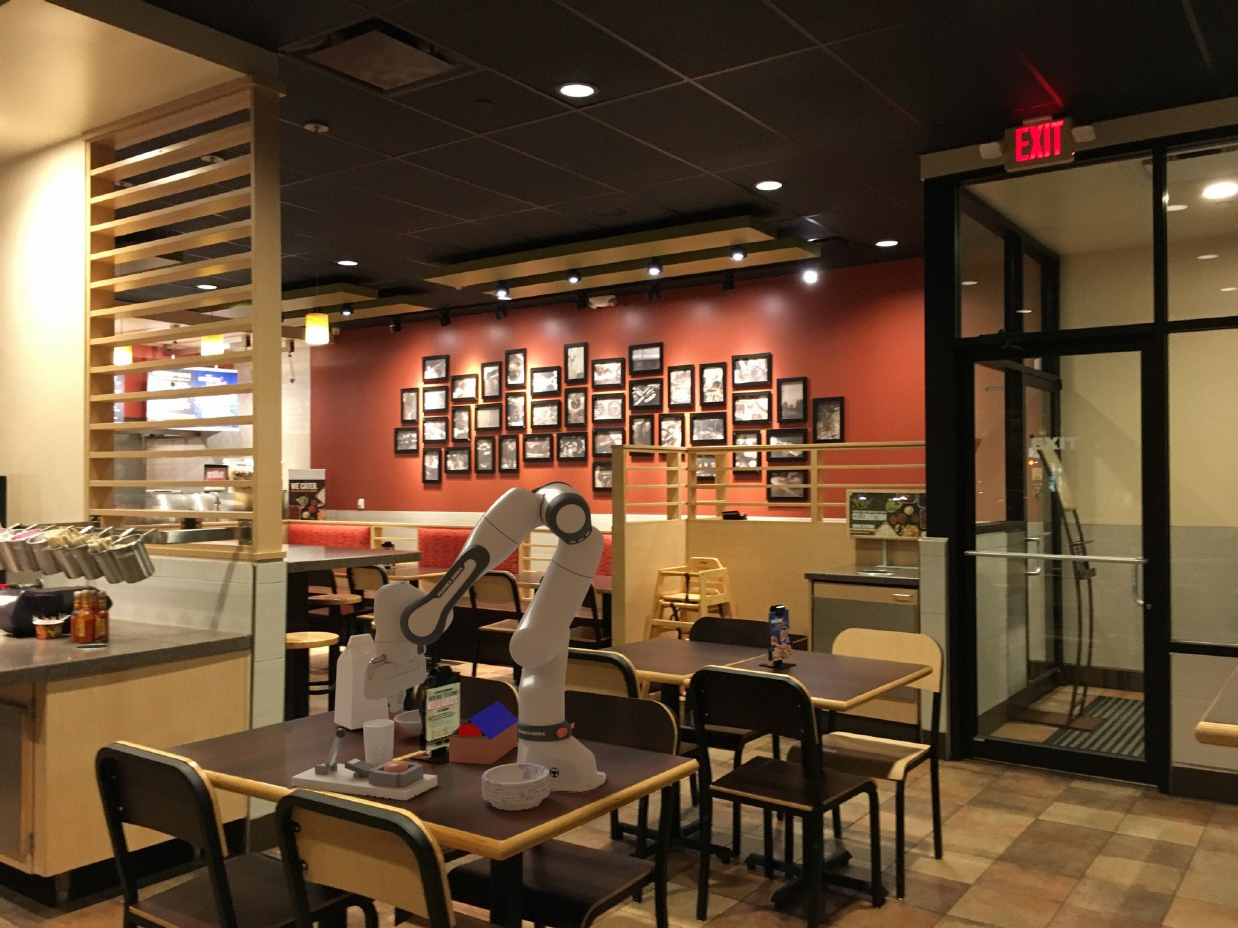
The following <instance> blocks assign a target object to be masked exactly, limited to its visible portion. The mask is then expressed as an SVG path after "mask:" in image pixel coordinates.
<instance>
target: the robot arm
mask: <svg viewBox="0 0 1238 928" xmlns="http://www.w3.org/2000/svg"><path fill="white" fill-rule="evenodd" d="M543 526H545V527H546V528H548V529H549V530H550V532H551V533H552V534H553V535H555V537H558V542H557V547H556V549H555V551H554V552H553V555H552V557H551V560H550V562H549V565H548V566H547V569H546V571H545V573H544V576H543V577H542V580H541V582H540V585H539V587H538V589H537V590H536V592H535V594H534V595H533V597H532V598H531V601H530V603H529V604H528V606H527V608H526V610H525V611H524V613H523V615H522V618H521V619H520V620H519V623H518V625H517V627H516V629H515V630H514V632H513V634H512V636H511V639H510V641H509V646H508V647H509V648H508V649H509V653H510V657H511V658H512V659H513V661H514V662H515V663H516V664H517V665H519V666H520V667H522V671H521V677H520V682H519V686H518V721H517V744H518V745H517V755H516V756H517V757H516V762H515V763H530V764H537V765H541V766H544V767H546V768H547V769H548V770H549V771H550V792H556V791H578V792H580V791H581V792H582V791H587V790H590V789H594V788H596V789H598V788H599V787H598V786H600V785H601V786H602V785H603V784H604V783H606V781H607V775H606V773H605V772H602V771H598V769H597V761H596V757H595V754H594V752H592V750H589V748H587V747H586V745H584V744H582V743H581V742H580V741H579V740H578V739H576V737H574V736H573V735H572V734H573V733H572V732H573V731H572V730H573V728H575V726H574V725H575V722H572V723H569V722H568V721H567V719H566V718H565V716H566V715H565V713H566V712H565V710H566V709H565V688H566V687H565V685H566V683H565V682H566V675H567V669H568V668H567V667H568V659H569V658H568V657H569V646H570V645H569V644H570V639H571V638H570V637H571V629H570V626H571V624H572V622H573V621H574V619H575V617H576V615H577V613H578V612H579V610H580V609H581V607H582V605H583V602H584V600H585V598H586V595H587V594H588V591H589V589H590V587H591V584H592V582H593V580H594V578H595V575H596V573H597V571H598V568H599V565H600V563H601V559H602V556H603V551H604V547H605V543H606V542H605V536H604V535H603V533H602V532H601V531H600V529H598V528H597V527H596V526H594V525H593V524H592V513H591V508H590V505H589V503H588V501H587V500H586V499H585V497H584V496H583V495H582V494H581V492H579V490H578V489H576V488H574V487H573V486H572V485H570V484H569V483H567V482H564V481H557V480H556V481H550V482H547V483H546V484H544V485H541V486H539V487H536V488H533V489H532V490H529V489H527V488H524V487H521V486H514V487H511V488H509V489H508V490H507V491H506V492H504V493H503V494H502V495H501V496H499V498H498V499H496V500H495V501H494V503H492V505H491V506H490V507H488V508H487V510H486V511H485V512H484V513H483V515H482V516H481V517H480V518H479V520H478V521H477V523H475V526H474V527H473V528H472V530H471V531H470V533H469V535H468V536H467V539H466V541H465V543H464V544H463V546H462V549H461V551H460V552H459V554H458V556H457V557H456V559H455V561H454V562H453V564H452V565H451V567H450V568H449V569H448V570H447V571H446V573H444V574H443V576H442V577H441V578H440V579H439V580H438V582H437V583H436V584H435V586H434V587H433V588H432V589H431V590H429V592H428V591H425V590H423V589H419V588H417V587H415V586H414V585H412V584H411V583H410V582H408V581H405V580H400V581H396V582H395V581H394V582H390V583H387V584H384V585H381V586H380V587H379V588H377V590H376V591H375V595H374V602H373V622H374V626H375V636H374V643H375V658H373V659H371V660H370V662H369V664H368V665H367V669H366V672H365V680H364V696H365V698H366V699H367V700H379V699H382V698H385V697H386V699H387V701H388V706H389V711H390V712H391V713H397V712H400V711H402V710H404V702H405V698H406V696H407V690H408V689H411V688H414V687H416V686H419V685H421V684H424V683H425V680H426V678H427V661H426V660H427V659H426V657H425V655H424V654H426V652H427V646H428V645H431V644H432V645H433V644H434V643H435V642H437V641H438V640H439V638H441V636H442V635H443V633H445V631H447V629H448V628H449V627H450V625H451V624H452V622H453V619H454V608H455V606H456V605H457V604H458V602H459V601H460V600H461V599H462V598H463V597H464V595H465V594H466V593H467V592H468V591H469V589H470V588H471V587H472V586H473V585H474V584H475V582H477V581H478V580H479V579H480V578H481V577H483V576H484V575H485V574H488V573H489V572H490V571H492V570H493V569H495V568H496V567H498V566H499V565H501V564H502V563H503V562H504V561H506V560H507V559H508V558H510V556H511V555H512V554H513V553H514V552H515V551H516V550H517V549H518V547H519V546H520V545H522V543H523V541H524V540H525V539H526V537H527V536H528V535H529V534H530V533H531V532H533V531H535V529H537V528H540V527H543ZM371 663H372V664H371ZM601 786H600V787H601ZM597 787H598V788H597ZM594 790H595V789H594Z"/></svg>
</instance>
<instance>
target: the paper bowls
mask: <svg viewBox="0 0 1238 928" xmlns="http://www.w3.org/2000/svg"><path fill="white" fill-rule="evenodd" d="M481 793H482V797H481V798H483V800H484V801H486V802H488V803H491V806H492V807H494V808H495V807H496V809H499V810H503V809H504V810H503V811H523V810H522V809H525V810H529V808H530V809H533V808H532V807H534V808H536V807H538V806H540V805H541V804H540V803H542V801H543V800H544V799H546V798H548V796H550V794H551V791H550V771H549V770H548V769H547V768H546V767H544V766H541V765H537V764H530V763H516V762H514V763H508V764H500V765H498V766H494V767H492V768H489V769H487V770H485V771H484V772H483V773H482V775H481ZM539 804H540V805H539ZM535 806H536V807H535Z"/></svg>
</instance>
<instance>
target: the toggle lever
mask: <svg viewBox="0 0 1238 928" xmlns="http://www.w3.org/2000/svg"><path fill="white" fill-rule="evenodd" d="M346 736H347V731H346V729H345V728H342V727H339V728H338V729H336V732H335V737H334V740H333V742H332V745H331V747H330V751H329V752H328V755H327V758H326V760H325V761H326V763H325V765H328V771H329V770H331V769H332V766H333V763H334V761H336V757H337V756H338V753H339V750H340V747H341V745H342V743H343V740H344V738H345V737H346Z"/></svg>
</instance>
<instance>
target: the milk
mask: <svg viewBox="0 0 1238 928" xmlns="http://www.w3.org/2000/svg"><path fill="white" fill-rule="evenodd" d="M373 658H375V640H374V639H373V637H372V634H371V633H364V634H357V635H356V634H355V635H350V637H349V639H348V642H347V645H346V647H345V648H344V649H343V651H342V652H341V654H340V655H339V656H338V659H337V661H336V662H337V663H336V678H335V679H336V680H335V697H334V698H335V699H334V720H333V721H334V723H335V724H337V725H340V726H342V727H344V728H346V729H348V730H351V731H352V730H355V729H356V730H357V729H363V723H365V722H367V721H371V720H378V719H387V720H390V717H389V714H390V713H389V703H388V701H387V699H386V697H385V698H382V699H379V700H367V699H366V698H365V696H364V680H365V672H366V669H367V665H368V664H369V662H370V660H371V659H373ZM371 664H372V663H371Z"/></svg>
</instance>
